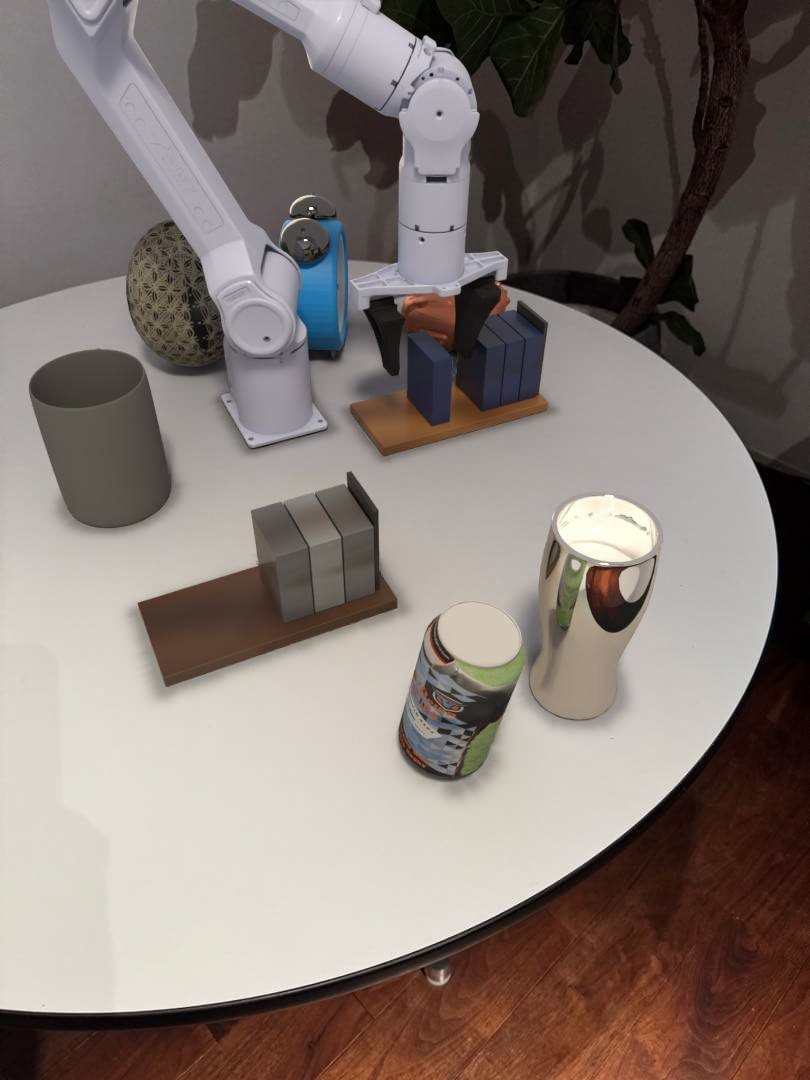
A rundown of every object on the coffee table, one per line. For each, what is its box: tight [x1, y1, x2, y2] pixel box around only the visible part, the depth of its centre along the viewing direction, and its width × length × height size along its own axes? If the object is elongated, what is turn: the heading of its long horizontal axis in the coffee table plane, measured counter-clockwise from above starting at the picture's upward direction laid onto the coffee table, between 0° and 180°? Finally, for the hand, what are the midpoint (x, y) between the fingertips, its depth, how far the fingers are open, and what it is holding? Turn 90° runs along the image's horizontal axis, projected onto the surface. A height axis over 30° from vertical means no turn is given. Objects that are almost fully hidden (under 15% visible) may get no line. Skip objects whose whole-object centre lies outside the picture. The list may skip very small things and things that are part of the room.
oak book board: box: [349, 299, 549, 457], centre depth 84 cm, size 8×18×9 cm, turn 115°
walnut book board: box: [137, 470, 398, 688], centre depth 64 cm, size 8×18×9 cm, turn 116°
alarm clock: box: [277, 192, 349, 360], centre depth 91 cm, size 13×6×15 cm, turn 178°
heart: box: [400, 281, 511, 353], centre depth 97 cm, size 6×12×15 cm
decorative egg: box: [125, 219, 225, 368], centre depth 88 cm, size 12×12×15 cm
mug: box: [28, 348, 171, 528], centre depth 74 cm, size 14×9×12 cm
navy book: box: [406, 331, 454, 426], centre depth 83 cm, size 6×2×7 cm, turn 26°
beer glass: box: [529, 491, 664, 721], centre depth 56 cm, size 7×7×15 cm
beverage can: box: [398, 599, 526, 779], centre depth 54 cm, size 6×7×12 cm
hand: (427, 362), depth 82 cm, fingers open, 7 cm apart
